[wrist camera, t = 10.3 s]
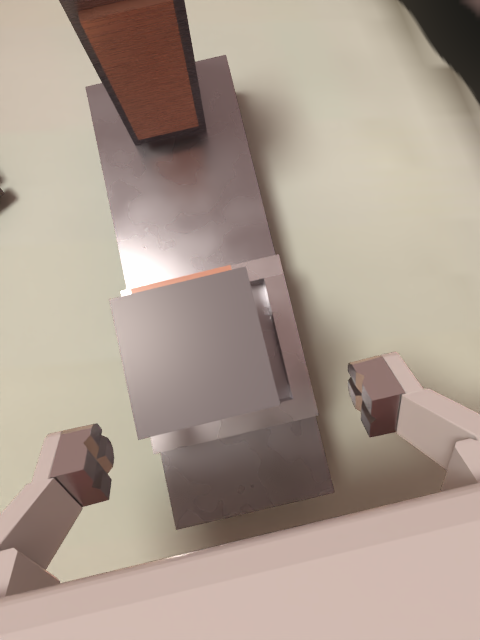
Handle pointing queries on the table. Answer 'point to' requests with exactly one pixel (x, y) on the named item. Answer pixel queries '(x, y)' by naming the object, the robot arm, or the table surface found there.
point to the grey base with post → (198, 244)
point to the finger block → (193, 351)
